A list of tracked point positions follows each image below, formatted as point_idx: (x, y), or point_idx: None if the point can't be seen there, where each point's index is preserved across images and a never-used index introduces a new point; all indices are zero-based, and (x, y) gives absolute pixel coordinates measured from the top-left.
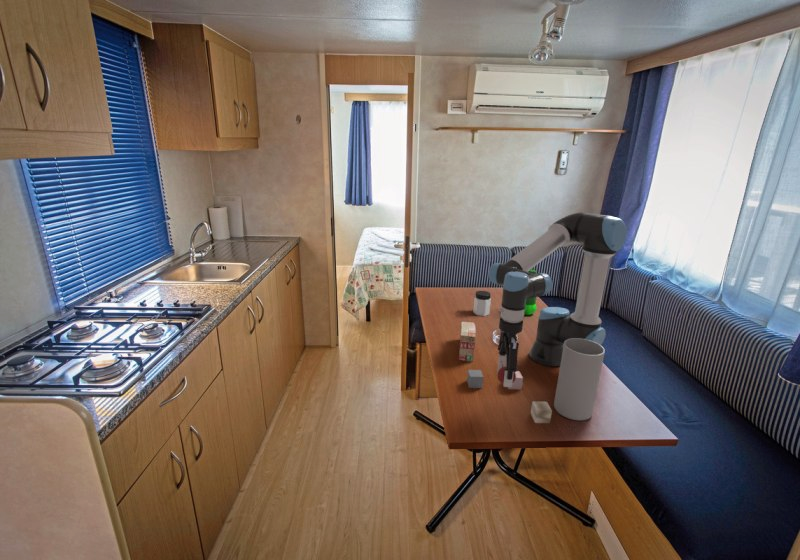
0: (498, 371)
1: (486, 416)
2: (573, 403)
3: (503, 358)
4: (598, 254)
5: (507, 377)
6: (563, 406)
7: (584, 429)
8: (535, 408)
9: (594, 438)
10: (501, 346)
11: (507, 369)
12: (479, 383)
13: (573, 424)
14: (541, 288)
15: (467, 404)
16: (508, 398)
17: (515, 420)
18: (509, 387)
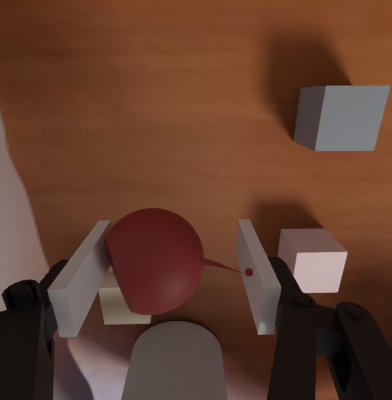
0: (157, 227)
1: (119, 124)
2: (125, 386)
3: (255, 300)
4: None
5: (64, 266)
6: (144, 351)
7: (105, 351)
8: (111, 286)
9: (76, 358)
10: (287, 390)
11: (7, 307)
12: (303, 131)
13: (120, 337)
14: None
15: (186, 60)
16: (227, 217)
17: (113, 212)
18: (282, 234)
